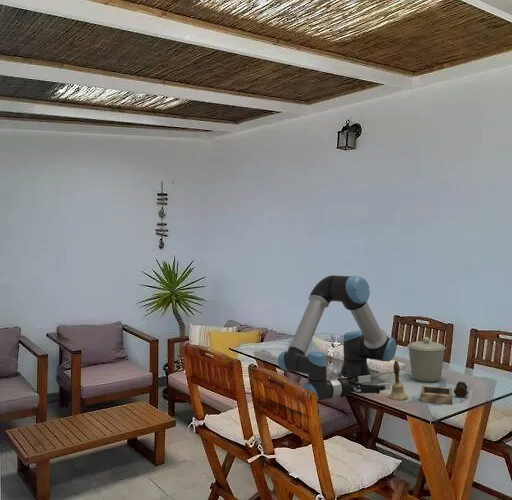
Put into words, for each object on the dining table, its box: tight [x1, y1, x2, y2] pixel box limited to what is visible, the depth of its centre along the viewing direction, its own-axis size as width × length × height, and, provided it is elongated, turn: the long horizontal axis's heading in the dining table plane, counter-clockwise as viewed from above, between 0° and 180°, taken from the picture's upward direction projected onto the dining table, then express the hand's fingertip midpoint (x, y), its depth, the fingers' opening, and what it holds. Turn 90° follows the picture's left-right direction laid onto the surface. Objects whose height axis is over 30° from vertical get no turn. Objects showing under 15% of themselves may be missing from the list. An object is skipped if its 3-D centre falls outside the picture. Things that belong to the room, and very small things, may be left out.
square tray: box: [420, 385, 453, 405], centre depth 228 cm, size 12×12×4 cm
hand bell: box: [388, 360, 409, 401], centre depth 230 cm, size 8×8×16 cm
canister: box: [406, 336, 447, 383], centre depth 258 cm, size 18×18×21 cm
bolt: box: [453, 381, 469, 399], centre depth 236 cm, size 6×5×15 cm
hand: (379, 381), depth 226 cm, fingers open, 13 cm apart
